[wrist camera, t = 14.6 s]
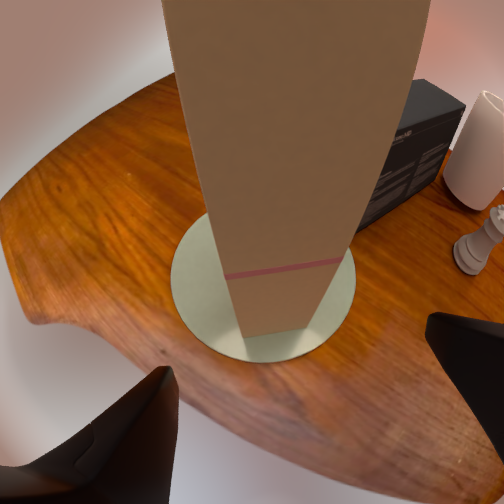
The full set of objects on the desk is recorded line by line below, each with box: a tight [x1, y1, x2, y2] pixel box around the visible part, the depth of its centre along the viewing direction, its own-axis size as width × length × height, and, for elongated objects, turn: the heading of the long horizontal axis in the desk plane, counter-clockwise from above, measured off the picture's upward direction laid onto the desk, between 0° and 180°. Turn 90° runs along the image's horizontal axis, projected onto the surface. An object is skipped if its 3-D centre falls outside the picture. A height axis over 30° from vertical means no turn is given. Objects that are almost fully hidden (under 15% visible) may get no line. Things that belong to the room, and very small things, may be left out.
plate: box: [171, 213, 356, 364], centre depth 24 cm, size 16×16×1 cm
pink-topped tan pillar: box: [161, 0, 431, 338], centre depth 12 cm, size 4×5×22 cm
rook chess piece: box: [454, 205, 504, 275], centre depth 20 cm, size 4×4×8 cm
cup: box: [443, 91, 504, 210], centre depth 22 cm, size 8×8×14 cm
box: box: [355, 79, 466, 233], centre depth 24 cm, size 17×7×12 cm, turn 121°
